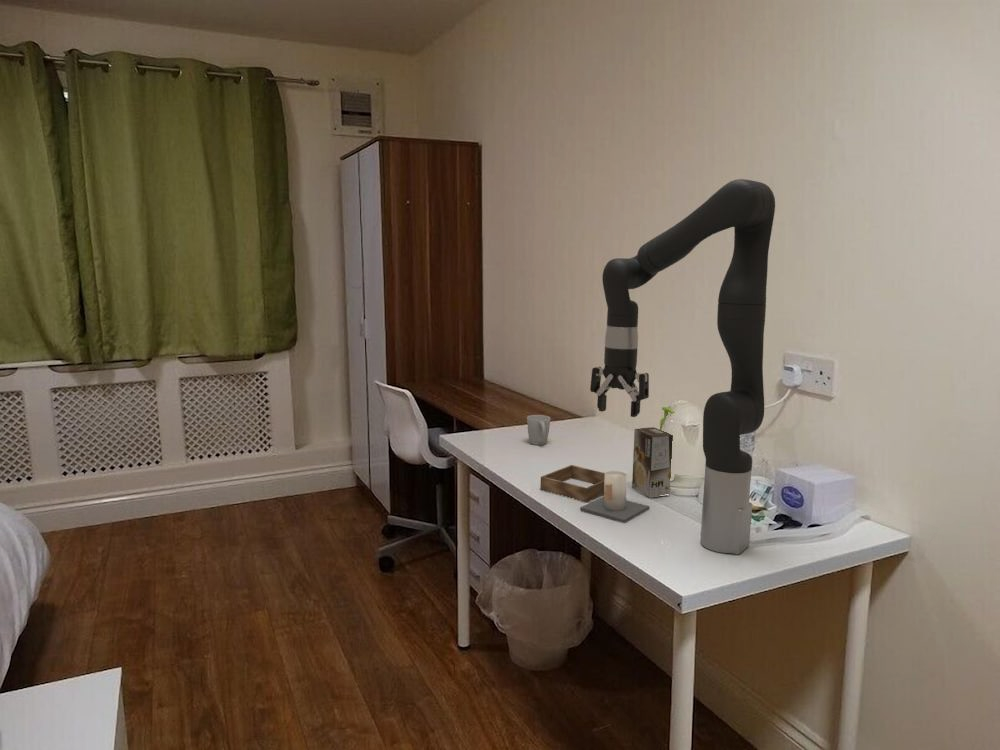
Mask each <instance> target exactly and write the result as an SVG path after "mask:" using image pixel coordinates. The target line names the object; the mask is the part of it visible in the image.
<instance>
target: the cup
mask: <svg viewBox="0 0 1000 750" xmlns="http://www.w3.org/2000/svg"><path fill="white" fill-rule="evenodd" d="M526 423H527V424H526V425H527V434H528V442H529V444H530V445H532V444H534V445H533V446H544V445H543V444H545V445H547V443H548V438H549V433H550V425H551V416H548V415H544V414H532V415H527V416H526Z"/></svg>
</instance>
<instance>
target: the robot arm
mask: <svg viewBox="0 0 1000 750" xmlns="http://www.w3.org/2000/svg"><path fill="white" fill-rule="evenodd" d="M775 199H776V197H775V195H774V192H773V190H772V188H770V186H768V184H766V183H764V182H761V181H755V180H751V179H744V178H739V179H733V180H730V181H728V182H727V183H725V184H724V185H723V186H722V187H720V188H719V189H718V190H717V191H716V192H715V193H713V194H712V195H711V196H710V197H709V198H708V199H706V200H705V201H704V203H702V204H700V205H699V206H698V207H697V208H696V209H695V210H694V211H692V212H691V213H689V214H688V215H687V216H685V217H684V218H683V219H682V220H680V221H679V222H677V223H676V224H674V225H673V226H672V227H670V228H668V229H667V230H664V232H662V233H660V234H658V235H656V236H655V237H653V238H652V239H650V240H649V241H647V242H646V243H644V244H643V245H641V246H640V247H639V249H638V251H637V254H636V255H635V256H633V257H630V258H619V257H617V258H612V259H609V261H608V262H607V263H606V264H605V265H604V267H603V271H602V277H601V278H602V287H603V291H604V292H603V293H604V298H605V301H606V306H607V307H606V308H607V315H606V329H605V337H604V356H603V357H604V358H603V364H604V367H601V366H595V367H592V369H591V376H590V377H591V378H590V387H589V388H590V392H591V393H594V394H596V396H597V404H596V405H597V409H598V411H599V412H605V411H606V410H607V396H608V395H607V393H608V391H609V390H610V389H619V390H625V393H626V394H627V395H629V397H630V399H631V401H630V402H631V403H630V417H631V418H635V417H637V416H638V415H639V414H640V412H641V401H642V400H646V399H649V397H650V396H649V395H650V392H649V391H650V388H649V386H650V376H649V375H650V374H649V373H648V372H644V373H641V372H640V373H638V372H637V370H636V369H637V365H638V350H639V349H638V346H639V345H638V343H639V331H638V326H639V325H638V323H639V306H638V303H637V302H636V301H634V300H631V297H630V292H629V291H630V290H634V289H637V288H640V287H643V286H645V284H647V283H648V282H649V281H651V280H652V279H653V278H654V277H655V276H656V275H657V274H658V273H659V272H661V271H664V270H666V269H667V268H669V267H670V266H673V265H674V264H676V263H678V262H680V261H681V260H683V259H684V258H685V257H687V256H688V255H689V254H690V253H691V252H692V251H693V250H694V249H695V248H696V247H697V246H698V245H699V244H700V243H702V242H703V241H704V240H706V239H707V238H710V237H711V236H713V235H715V234H717V233H719V232H722V231H725V230H727V229H730V228H731V229H732V228H734V230H733V231H734V238H733V239H734V240H733V241H734V242H733V244H734V246H733V252H732V257H731V260H730V264H729V266H728V268H727V271H726V273H725V275H724V277H723V280H722V282H721V285H720V289H719V293H718V298H717V299H718V300H717V313H716V314H717V315H716V317H717V318H716V319H717V320H716V321H717V323H716V324H717V330H718V334H719V338H720V339H721V342H722V344H723V346H724V348H725V350H726V353H727V356H728V358H729V361H730V367H731V380H730V381H731V383H730V390H729V391H723V392H722V391H721V392H716V393H713V394H712V395H711V396H709V397H708V399H707V401H706V402H705V404H704V409H703V414H702V415H703V417H702V418H703V419H702V451H703V455H704V457H705V466H704V467H705V468H704V483H703V493H702V495H703V496H702V497H703V498H702V508H701V509H702V511H701V512H702V513H701V522H700V523H701V526H700V539H699V540H700V541H699V542H700V544H701V546H702V547H704V548H706V549H707V550H711V551H713V552H717V553H723V554H733V555H740V554H742V552H743V551H745V550H746V549H748V547H750V538H751V524H752V513H753V512H752V511H753V504H752V503H751V502H750V496H751V495H750V494H751V483H752V471H753V470H752V467H753V457H752V455H751V454H750V453H748V452H746V451H743V450H741V436H742V435H747V434H752V433H754V432H756V431H757V430H758V429H759V428H760V427H761V425H762V423H763V421H764V416H765V391H764V390H765V389H764V387H765V386H764V373H763V371H764V370H763V369H764V367H763V364H764V362H763V361H764V340H765V339H764V336H765V335H764V334H765V326H766V325H765V323H766V311H767V310H766V308H767V285H768V284H767V282H768V268H769V267H768V262H769V250H770V243H771V236H772V231H773V225H774V220H775V219H774V218H775V212H776V200H775ZM602 376H604V378H605V379H604V381H603V382H602ZM636 380H637V381H636ZM635 381H636V382H638V386H637V384H636V383H635Z"/></svg>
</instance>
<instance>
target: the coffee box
mask: <svg viewBox="0 0 1000 750" xmlns="http://www.w3.org/2000/svg"><path fill="white" fill-rule="evenodd" d="M633 435H634V436H633V437H634V438H633V452H632V453H633V456H632V461H633V462H632V477H631V478H632V480H631V488H632V489H633V488H634V489H633V490H634V491H638V492H639V493H641V495H644V496H646V497H647V498H650V499H652V498H654V497H655V498H659V497H658V496H660V495H665V494H671V482H670V478H671V459H672V441H673V435H671V434H669V433H667V432H664V431H662V430H660V428H657V427H652V426H651V427H640V428H634V433H633ZM655 498H654V499H655Z"/></svg>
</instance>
